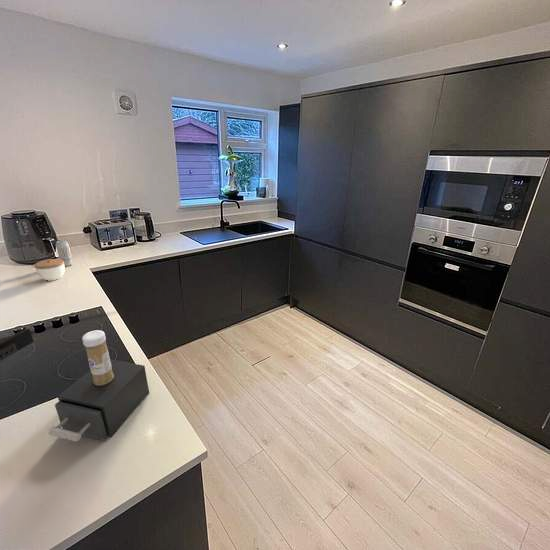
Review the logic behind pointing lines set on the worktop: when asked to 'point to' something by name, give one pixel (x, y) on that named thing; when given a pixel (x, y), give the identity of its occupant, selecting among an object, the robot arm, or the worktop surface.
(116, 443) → the worktop surface
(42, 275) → the lidded bowl
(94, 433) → the drawer
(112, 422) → the cabinet
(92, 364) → the sprinkles bottle
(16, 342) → the robot arm
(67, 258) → the clear ribbed bottle
